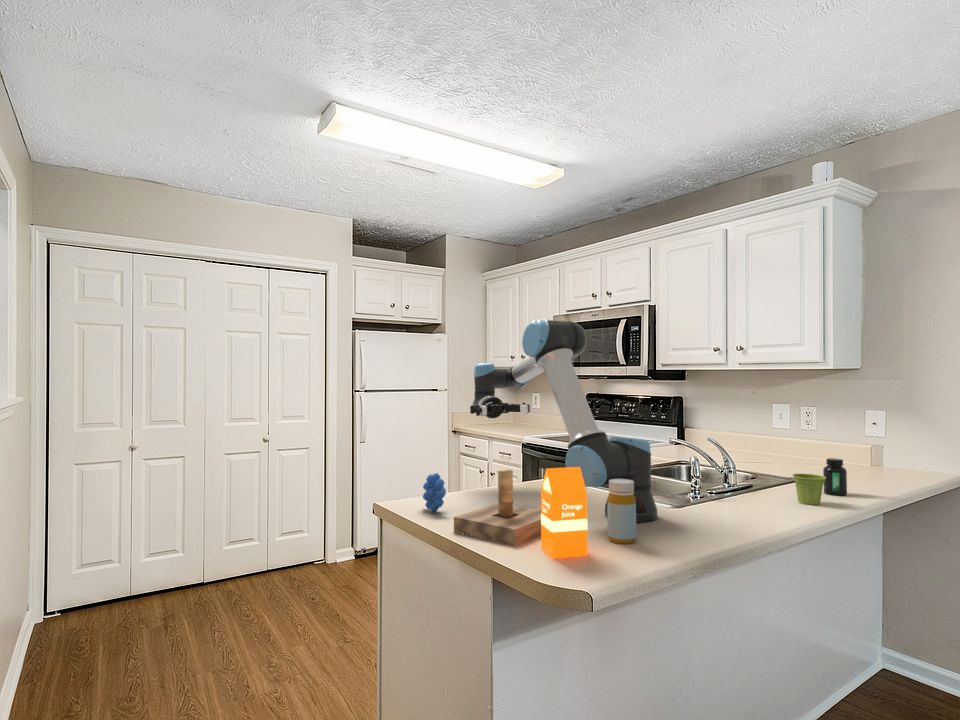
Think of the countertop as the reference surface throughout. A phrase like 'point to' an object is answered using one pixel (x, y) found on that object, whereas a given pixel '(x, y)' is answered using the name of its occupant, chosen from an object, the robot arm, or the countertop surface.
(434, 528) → the countertop surface
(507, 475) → the oak leg
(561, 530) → the orange juice
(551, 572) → the countertop surface
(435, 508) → the grapes
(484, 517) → the walnut board
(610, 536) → the bottle
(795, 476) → the plant pot
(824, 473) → the supplement bottle
